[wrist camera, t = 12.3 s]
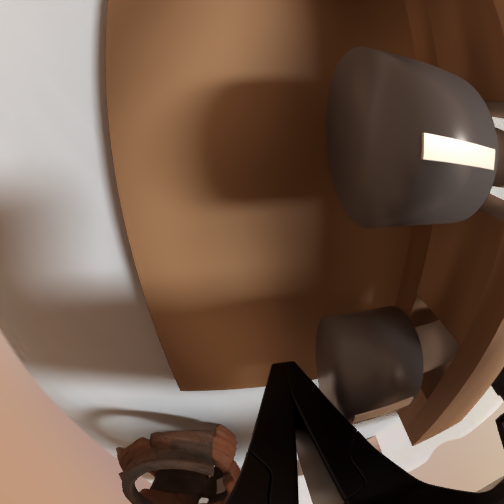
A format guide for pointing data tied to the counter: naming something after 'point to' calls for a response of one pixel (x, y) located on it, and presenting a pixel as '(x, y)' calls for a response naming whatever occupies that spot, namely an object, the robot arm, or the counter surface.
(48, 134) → the counter surface
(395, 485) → the robot arm
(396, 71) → the knob middle
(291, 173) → the panel
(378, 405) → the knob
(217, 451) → the pottery mug
